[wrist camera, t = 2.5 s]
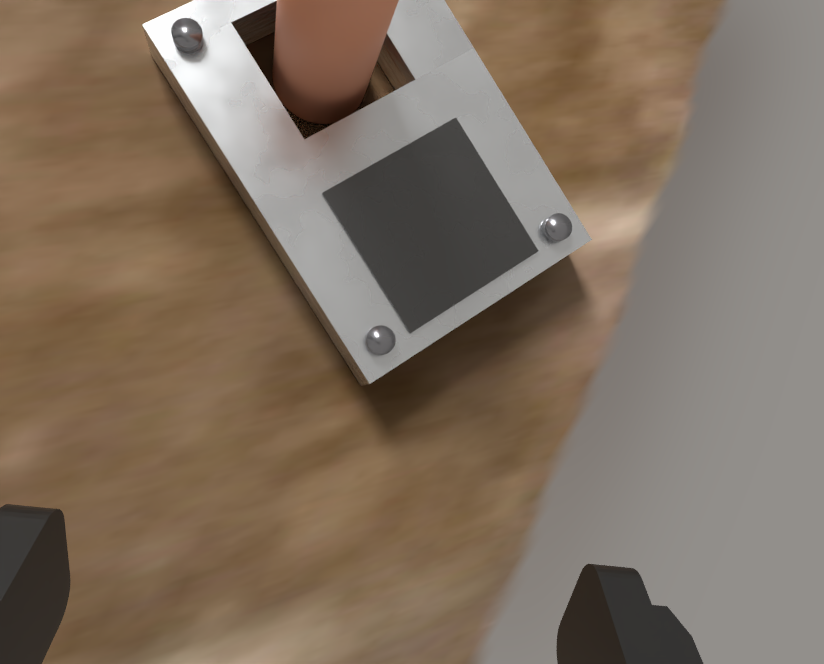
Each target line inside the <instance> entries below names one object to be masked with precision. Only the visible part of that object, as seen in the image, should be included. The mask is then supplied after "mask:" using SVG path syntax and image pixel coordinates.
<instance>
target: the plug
mask: <svg viewBox="0 0 824 664" xmlns="http://www.w3.org/2000/svg"><path fill="white" fill-rule="evenodd" d="M398 1H399V0H277V7H276V24H275V41H274V58H273V84H274V88H275V91H276V93H277V95H278V97H279V99H280V100H281V102H282V103H283V105H284V106H285V107H286V108H287V109H288V110H289V111H290V112H292V113H293V114H294V115H296V116H297V117H299V118H301V119H303V120H306V121H308V122H312V123H318V124H330V123H335V122H338V121H340V120H342V119H343V118H345V117H347V116H349V115H351V114H352V113H354V112H355V110H356V109H357V108H358V107H359V105H360V104H361V102H362V100H363V98H364V95H365V92H366V90H367V87H368V84H369V81H370V78H371V76H372V73H373V70H374V67H375V65H376V62H377V59H378V56H379V54H380V51H381V48H382V45H383V42H384V40H385V37H386V34H387V31H388V29H389V26H390V23H391V20H392V18H393V15H394V12H395V9H396V6H397V4H398Z"/></svg>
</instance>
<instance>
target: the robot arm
mask: <svg viewBox="0 0 824 664" xmlns="http://www.w3.org/2000/svg"><path fill="white" fill-rule="evenodd" d="M69 591H70V571H69V561H68V551H67V541H66V531H65V522H64V515H63V513H62V511H61V510H60V509H51V508H41V507H31V506H21V505H10V504H6V505H4V506H2V507H1V508H0V664H42V662H43V660H44V657H45V655H46V653H47V651H48V649H49V647H50V645H51V642H52V640H53V638H54V636H55V634H56V632H57V630H58V627H59V625H60V623H61V621H62V618H63V615H64V612H65V609H66V606H67V602H68V597H69ZM557 660H558V664H703V662H702V659H701V657H700V655H699V652H698V650H697V648H696V645H695V643H694V640H693V638H692V636H691V635H690V634H689V632H688V631H687V630H686V629H685V628H684V626H683V625H682V624H681V623H680V621H679V620H678V619H677V618H676V617H675V615H674V614H673V613H672V612H671V611H670V609H669V608H668V607H667V606H656V605H652V604H651V601H650V599H649V596H648V594H647V591H646V589H645V586H644V584H643V581H642V578H641V576H640V575H639V573H638V572H637V571H636V570H635V569H633V568H625V567H615V566H605V565H595V564H587V565H586V566H585V567H584V568H583V569H582V572H581V574H580V576H579V579H578V581H577V584H576V586H575V589H574V591H573V593H572V596H571V598H570V601H569V603H568V605H567V608H566V610H565V613H564V616H563V618H562V620H561V623H560V626H559V629H558V635H557Z"/></svg>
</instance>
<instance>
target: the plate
mask: <svg viewBox="0 0 824 664" xmlns="http://www.w3.org/2000/svg"><path fill="white" fill-rule="evenodd" d="M276 7H277V0H194V1H192V2H190V3H187V4H185V5H183V6H181V7H179V8H177V9H175V10H172V11H170V12H168V13H166V14H164V15H162V16H160V17H157V18H155V19H153V20H151V21H149V22H147V23H145V24H142V26H143V29H144V33H145V36H146V39H147V43H148V46H149V50H150V53H151V56H152V57H153V59H154V60H155V62H156V64H157V65H158V67H159V68H160V70H161V71H162V73H163V75H164V76H165V78H166V79H167V81H168V82H169V84H170V86H171V87H172V89H173V90H174V92H175V93H176V95H177V97H178V98H179V100H180V101H181V103H182V105H183V106H184V108H185V109H186V111H187V112H188V114H189V116H190V117H191V119H192V120H193V122H194V123H195V125H196V127H197V128H198V130H199V131H200V133H201V135H202V136H203V138H204V139H205V141H206V142H207V144H208V146H209V147H210V149H211V150H212V152H213V153H214V155H215V157H216V158H217V160H218V161H219V163H220V164H221V166H222V168H223V169H224V171H225V172H226V174H227V176H228V177H229V179H230V180H231V182H232V183H233V185H234V187H235V188H236V190H237V191H238V193H239V194H240V196H241V198H242V199H243V201H244V202H245V204H246V205H247V207H248V209H249V210H250V212H251V213H252V215H253V217H254V218H255V220H256V221H257V223H258V224H259V226H260V228H261V229H262V231H263V232H264V234H265V235H266V237H267V239H268V240H269V242H270V243H271V245H272V247H273V248H274V250H275V251H276V253H277V254H278V256H279V258H280V259H281V261H282V262H283V264H284V265H285V267H286V269H287V270H288V272H289V273H290V275H291V276H292V278H293V280H294V281H295V283H296V284H297V286H298V288H299V289H300V291H301V292H302V294H303V295H304V297H305V299H306V300H307V302H308V303H309V305H310V306H311V308H312V310H313V311H314V313H315V314H316V316H317V317H318V319H319V321H320V322H321V324H322V325H323V327H324V329H325V330H326V332H327V333H328V335H329V336H330V338H331V340H332V341H333V343H334V344H335V346H336V347H337V349H338V351H339V352H340V354H341V355H342V357H343V359H344V360H345V362H346V363H347V365H348V366H349V368H350V370H351V371H352V373H353V374H354V376H355V377H356V379H357V381H358V382H359V384H360V385H367V384H371V383H372V382H374V381H375V380H377V379H378V378H380V377H381V376H383V375H384V374H386V373H388V372H389V371H391V370H392V369H394V368H395V367H397V366H398V365H400V364H401V363H403V362H404V361H406V360H407V359H409V358H411V357H412V356H414V355H415V354H417V353H418V352H420V351H421V350H423V349H424V348H426V347H427V346H429V345H431V344H432V343H434V342H435V341H437V340H438V339H440V338H441V337H443V336H444V335H446V334H447V333H449V332H451V331H452V330H454V329H455V328H457V327H458V326H460V325H461V324H463V323H464V322H466V321H467V320H469V319H471V318H472V317H474V316H475V315H477V314H478V313H480V312H481V311H483V310H484V309H486V308H487V307H489V306H491V305H492V304H494V303H495V302H497V301H498V300H500V299H501V298H503V297H504V296H506V295H507V294H509V293H510V292H512V291H514V290H515V289H517V288H518V287H520V286H521V285H523V284H524V283H526V282H527V281H529V280H530V279H532V278H534V277H535V276H537V275H538V274H540V273H541V272H543V271H544V270H546V269H547V268H549V267H550V266H552V265H554V264H555V263H557V262H558V261H560V260H561V259H563V258H564V257H566V256H567V255H569V254H570V253H572V252H574V251H575V250H577V249H578V248H580V247H581V246H583V245H584V244H586V243H587V242H589V241H590V240H592V239H591V238H590V236H589V234H588V233H587V231H586V229H585V228H584V226H583V225H582V223H581V221H580V220H579V218H578V216H577V215H576V213H575V212H574V210H573V208H572V207H571V205H570V203H569V202H568V200H567V199H566V197H565V195H564V194H563V192H562V191H561V189H560V187H559V186H558V184H557V182H556V181H555V179H554V178H553V176H552V174H551V173H550V171H549V169H548V168H547V166H546V165H545V163H544V161H543V160H542V158H541V156H540V155H539V153H538V152H537V150H536V148H535V147H534V145H533V143H532V142H531V140H530V139H529V137H528V135H527V134H526V132H525V130H524V129H523V127H522V126H521V124H520V122H519V121H518V119H517V117H516V116H515V114H514V113H513V111H512V109H511V108H510V106H509V104H508V103H507V101H506V100H505V98H504V96H503V95H502V93H501V91H500V90H499V88H498V87H497V85H496V83H495V82H494V80H493V78H492V77H491V75H490V74H489V72H488V70H487V69H486V67H485V65H484V64H483V62H482V61H481V59H480V57H479V56H478V54H477V52H476V51H475V49H474V48H473V46H472V44H471V43H470V41H469V39H468V38H467V36H466V35H465V33H464V31H463V30H462V28H461V26H460V25H459V23H458V22H457V20H456V18H455V17H454V15H453V13H452V12H451V10H450V9H449V7H448V5H447V4H446V2H445V0H399V1H398V4H397V6H396V9H395V12H394V15H393V18H392V20H391V23H390V26H389V29H388V31H387V34H386V37H385V40H384V42H383V45H382V48H381V51H380V54H379V56H378V59H377V62H378V63H379V65H380V67H381V68H382V70H383V72H384V73H385V75H386V76H387V78H388V80H389V81H390V83H391V84H392V86H393V88H394V89H395V91H393V92H392V93H390V94H388V95H386V96H384V97H382V98H380V99H379V100H377V101H375V102H373V103H371V104H369V105H367V106H366V107H364V108H362V109H360V110H358V111H356V112H355V113H353V114H351V115H349V116H347V117H345V118H343V119H342V120H340V121H338V122H336V123H334V124H332V125H330V126H329V127H327V128H325V129H323V130H321V131H319V132H317V133H316V134H314V135H312V136H310V137H308V138H306V139H305V140H304V138H303V136H302V135H301V133H300V132H299V130H298V128H297V127H296V125H295V124H294V122H293V120H292V119H291V117H290V116H289V114H288V112H287V111H286V109H285V108H284V106H283V105H282V103H281V101H280V100H279V98H278V97H277V95H276V93H275V92H274V90H273V89H272V87H271V85H270V84H269V82H268V81H267V79H266V77H265V76H264V74H263V73H262V71H261V70H260V68H259V66H258V65H257V63H256V62H255V60H254V58H253V57H252V55H251V54H250V52H249V50H248V49H247V47H246V45H249V44H251V43H253V42H255V41H257V40H259V39H261V38H263V37H265V36H267V35H269V34H271V33H273V32H275V24H276Z"/></svg>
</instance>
